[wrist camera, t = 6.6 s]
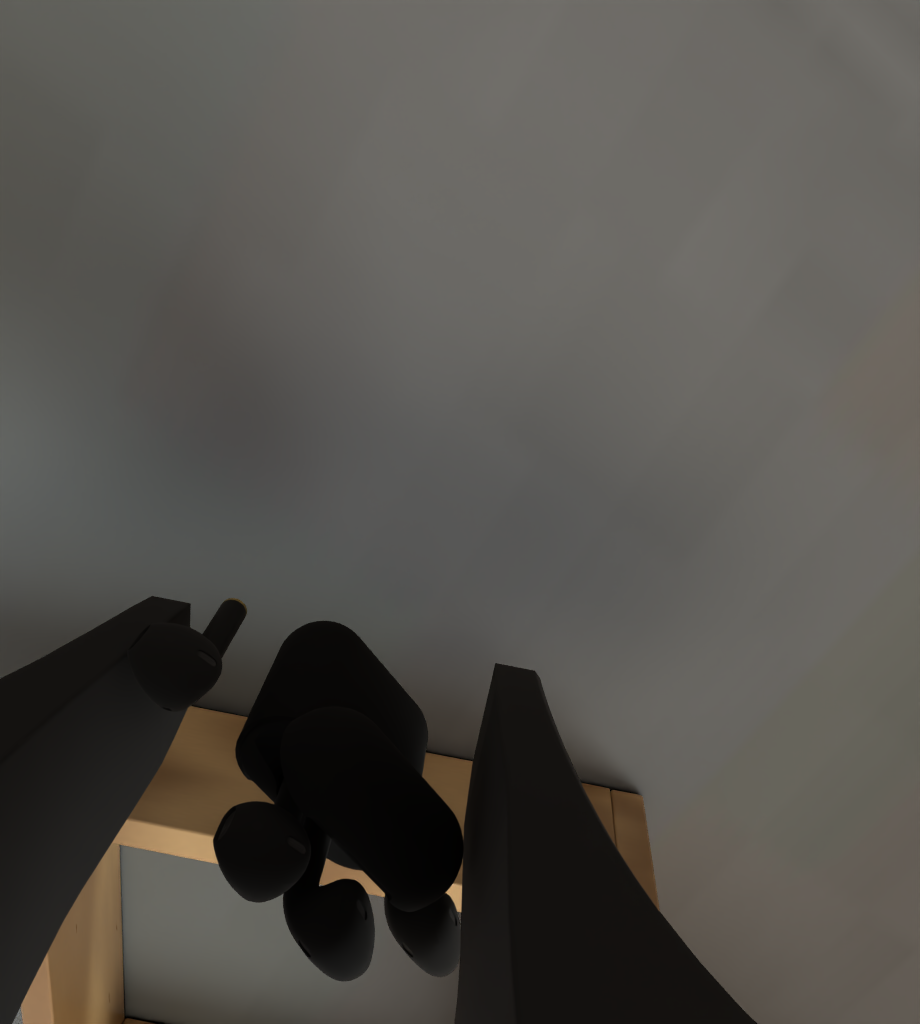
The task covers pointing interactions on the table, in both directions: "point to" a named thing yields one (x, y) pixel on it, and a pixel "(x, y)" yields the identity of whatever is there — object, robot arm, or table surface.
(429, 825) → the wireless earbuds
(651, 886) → the wooden frame
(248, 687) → the table surface
